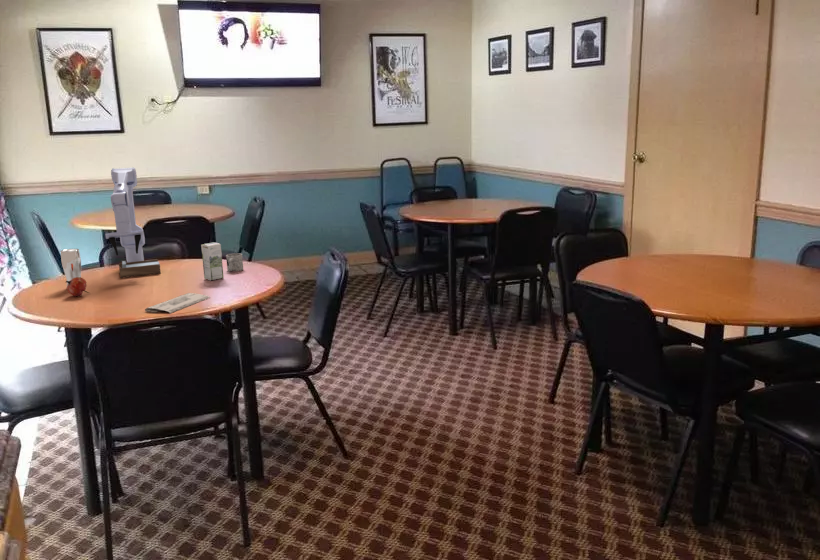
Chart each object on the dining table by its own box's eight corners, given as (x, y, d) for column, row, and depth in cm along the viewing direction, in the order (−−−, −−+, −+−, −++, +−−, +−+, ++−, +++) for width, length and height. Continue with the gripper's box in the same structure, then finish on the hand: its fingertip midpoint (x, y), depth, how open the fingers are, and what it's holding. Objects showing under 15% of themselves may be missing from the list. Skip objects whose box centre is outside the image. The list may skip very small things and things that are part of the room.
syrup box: (216, 276, 292) (213, 241, 289) (224, 278, 288) (220, 243, 285) (204, 279, 288) (200, 243, 285) (211, 281, 284) (207, 245, 281)
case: (119, 272, 309) (118, 263, 308) (158, 268, 315) (157, 259, 314) (120, 277, 297) (119, 268, 296) (160, 273, 303) (159, 264, 302)
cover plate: (122, 267, 308) (121, 260, 307) (158, 263, 313) (157, 256, 313) (122, 271, 298) (121, 265, 297) (160, 267, 304) (159, 260, 303)
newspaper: (182, 297, 262) (182, 290, 261) (210, 302, 257) (210, 296, 257) (139, 313, 241) (138, 306, 240) (168, 319, 237) (168, 312, 236)
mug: (230, 268, 308) (228, 253, 306) (245, 268, 307) (243, 253, 306) (223, 273, 298) (221, 258, 296) (238, 273, 298) (237, 257, 296)
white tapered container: (72, 285, 287) (66, 248, 284) (88, 285, 286) (82, 248, 283) (61, 289, 280) (56, 251, 277) (78, 289, 279) (72, 251, 276)
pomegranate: (84, 298, 274) (59, 286, 268) (94, 282, 274) (70, 270, 268) (86, 304, 268) (60, 292, 262) (97, 287, 268) (71, 275, 262)
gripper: (103, 224, 286) (108, 257, 289) (142, 221, 292) (146, 253, 295) (103, 222, 292) (108, 254, 295) (141, 219, 298) (145, 250, 301)
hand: (127, 254), depth 296 cm, fingers open, 7 cm apart
